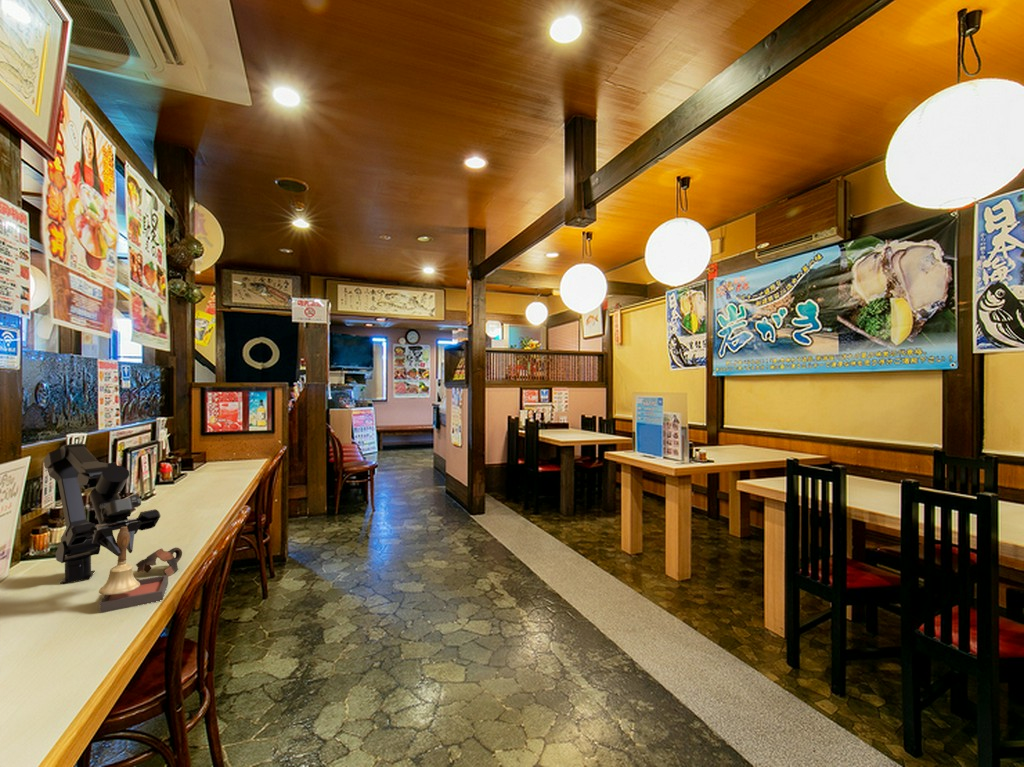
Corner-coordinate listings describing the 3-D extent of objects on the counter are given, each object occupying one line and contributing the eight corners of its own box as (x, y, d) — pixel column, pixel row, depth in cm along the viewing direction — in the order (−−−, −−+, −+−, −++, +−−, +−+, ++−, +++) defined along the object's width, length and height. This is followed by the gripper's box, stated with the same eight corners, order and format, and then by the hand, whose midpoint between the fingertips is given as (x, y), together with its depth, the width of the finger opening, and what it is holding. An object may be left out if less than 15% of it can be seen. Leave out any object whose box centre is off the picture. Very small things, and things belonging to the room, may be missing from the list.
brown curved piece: (161, 582, 136) (144, 559, 135) (141, 592, 139) (124, 570, 138) (196, 557, 147) (180, 536, 146) (177, 567, 150) (161, 546, 149)
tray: (111, 593, 128) (110, 584, 128) (168, 583, 134) (168, 574, 134) (99, 613, 117) (99, 603, 117) (162, 600, 123) (162, 591, 123)
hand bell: (148, 582, 126) (150, 522, 127) (124, 595, 118) (127, 531, 118) (115, 582, 126) (118, 522, 126) (89, 595, 117) (93, 531, 118)
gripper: (70, 493, 116) (87, 546, 111) (157, 480, 132) (176, 526, 127) (58, 520, 120) (74, 572, 115) (145, 504, 136) (162, 549, 131)
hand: (125, 553), depth 122 cm, fingers closed on hand bell, 2 cm apart
